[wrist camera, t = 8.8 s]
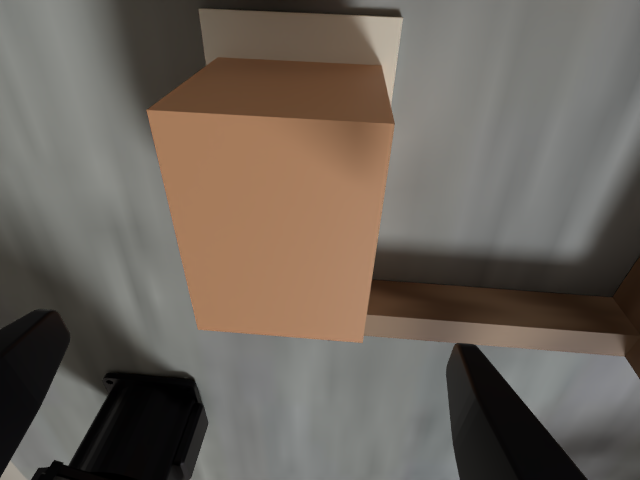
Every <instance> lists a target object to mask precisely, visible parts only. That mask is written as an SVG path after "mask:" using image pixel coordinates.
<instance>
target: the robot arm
mask: <svg viewBox="0 0 640 480" xmlns="http://www.w3.org/2000/svg"><path fill="white" fill-rule="evenodd" d="M69 342H70V333H69V331H68V329H67V327H66V325H65V323H64V321H63V319H62V318H61V316H60V314H59V313H58V312H57V311H55V310H47V309H37V310H34V311H32V312H30V313H29V314H27V315H25V316H23V317H22V318H20V319H18V320H16V321H15V322H13V323H11V324H9V325H8V326H6V327H4V328H2V329H1V330H0V477H1V475H2V474H3V472H4V470H5V468H6V467H7V465H8V463H9V461H10V460H11V458H12V456H13V454H14V453H15V451H16V449H17V447H18V446H19V444H20V442H21V440H22V439H23V437H24V435H25V433H26V432H27V430H28V428H29V426H30V425H31V423H32V421H33V419H34V418H35V416H36V414H37V412H38V410H39V408H40V407H41V405H42V402H43V400H44V398H45V396H46V394H47V392H48V390H49V387H50V385H51V383H52V381H53V378H54V376H55V374H56V372H57V370H58V367H59V365H60V363H61V361H62V358H63V356H64V354H65V352H66V349H67V347H68V345H69ZM446 378H447V389H448V399H449V410H450V421H451V431H452V440H453V447H454V453H455V458H456V463H457V468H458V473H459V477H460V480H588V479H587V478H586V477H585V476H584V474H583V473H582V472H581V471H580V470H579V468H578V467H577V466H576V465H575V464H574V462H573V461H572V460H571V459H570V458H569V456H568V455H567V454H566V453H565V452H564V450H563V449H562V448H561V447H560V445H559V444H558V443H557V442H556V441H555V439H554V438H553V437H552V436H551V435H550V433H549V432H548V431H547V430H546V429H545V427H544V426H543V425H542V424H541V423H540V421H539V420H538V419H537V418H536V417H535V415H534V414H533V413H532V412H531V411H530V409H529V408H528V407H527V406H526V405H525V403H524V402H523V401H522V400H521V399H520V397H519V396H518V395H517V394H516V392H515V391H514V390H513V389H512V388H511V386H510V385H509V384H508V383H507V382H506V380H505V379H504V378H503V377H502V376H501V374H500V373H499V372H498V371H497V370H496V368H495V367H494V366H493V365H492V364H491V362H490V361H489V360H488V359H487V358H486V356H485V355H484V354H483V353H482V352H481V350H480V349H479V348H478V347H477V346H476V345H474V344H467V343H457V344H455V345H454V347H453V350H452V353H451V356H450V358H449V361H448V364H447V368H446ZM102 381H103V383H104V385H105V387H106V389H107V391H108V393H109V394H108V396H107V398H106V400H105V401H104V403H103V405H102V407H101V409H100V410H99V412H98V414H97V416H96V417H95V419H94V421H93V423H92V425H91V426H90V428H89V430H88V432H87V433H86V435H85V437H84V439H83V440H82V442H81V444H80V446H79V448H78V449H77V451H76V453H75V455H74V456H73V458H72V460H71V462H70V464H69V465H68V466H67V465H63V462H60V461H56V460H54V461H53V462H52V464H51V466H50V467H46V468H38V469H37V471H36V473H35V474H34V476H33V477H32V479H31V480H189V479H190V478H191V477H192V473H193V470H194V467H195V464H196V461H197V458H198V455H199V451H200V448H201V445H202V442H203V439H204V436H205V432H206V430H207V427H208V420H207V416H206V412H205V409H204V406H203V404H202V403H201V400H200V396H199V392H198V389H197V385H196V383H195V382H194V381H191V380H186V379H174V378H163V377H151V376H140V375H128V374H117V373H107V374H106V375H105V376H104V378H103V380H102Z"/></svg>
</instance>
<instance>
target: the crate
mask: <svg viewBox="0 0 640 480" xmlns="http://www.w3.org/2000/svg"><path fill="white" fill-rule="evenodd" d="M147 114H148V118H149V123H150V127H151V131H152V136H153V140H154V144H155V148H156V153H157V157H158V161H159V165H160V170H161V174H162V178H163V182H164V187H165V191H166V195H167V199H168V204H169V208H170V212H171V216H172V221H173V225H174V229H175V234H176V238H177V242H178V246H179V251H180V255H181V259H182V263H183V268H184V272H185V276H186V280H187V285H188V289H189V293H190V297H191V302H192V306H193V310H194V315H195V319H196V323H197V327H198V330H210V331H222V332H235V333H247V334H259V335H272V336H284V337H296V338H309V339H321V340H334V341H346V342H358V343H363V336H364V329H365V323H366V316H367V309H368V302H369V295H370V289H371V282H372V275H373V268H374V261H375V255H376V248H377V241H378V234H379V227H380V221H381V214H382V207H383V200H384V193H385V187H386V180H387V173H388V166H389V159H390V153H391V146H392V139H393V132H394V125H395V123H394V119H393V114H392V110H391V105H390V100H389V96H388V91H387V87H386V82H385V78H384V73H383V69H382V65H364V64H344V63H324V62H304V61H283V60H263V59H243V58H223V57H217V58H216V59H215V60H213V61H212V62H210V63H209V64H208V65H206V66H205V67H204V68H202V69H201V70H200V71H198V72H197V73H196V74H194V75H193V76H192V77H190V78H189V79H188V80H186V81H185V82H184V83H182V84H181V85H180V86H178V87H177V88H175V89H174V90H173V91H171V92H170V93H169V94H167V95H166V96H165V97H163V98H162V99H161V100H159V101H158V102H157V103H155V104H154V105H153V106H151V107H150V108H149V109H147Z"/></svg>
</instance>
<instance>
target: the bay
mask: <svg viewBox="0 0 640 480" xmlns="http://www.w3.org/2000/svg"><path fill="white" fill-rule="evenodd" d="M199 17H200V24H201V32H202V39H203V47H204V54H205V61H206V65H208V64H209V63H210V62H212V61H213V60H215V59H216V58H217V57H223V58H243V59H263V60H283V61H304V62H324V63H344V64H364V65H382V69H383V73H384V78H385V82H386V87H387V91H388V96H389V100H390V105H391V102H392V94H393V87H394V80H395V72H396V65H397V58H398V51H399V43H400V36H401V29H402V21H403V17H389V16H367V15H344V14H321V13H299V12H276V11H253V10H231V9H208V8H199ZM364 336H375V337H388V338H400V339H413V340H425V341H438V342H450V343H467V344H475V345H488V346H500V347H513V348H525V349H537V350H550V351H562V352H575V353H587V354H600V355H612V356H625V357H626V359H627V360H628V362H629V363H630V365H631V366H632V368H633V369H634V371H635V373H636V374H637V376H638V377H639V379H640V257H639V258H638V260H637V261H636V263H635V264H634V266H633V267H632V269H631V270H630V272H629V273H628V275H627V276H626V278H625V279H624V281H623V282H622V284H621V285H620V287H619V288H618V290H617V291H616V293H615V294H614V296H613V297H601V296H588V295H574V294H561V293H547V292H533V291H520V290H506V289H493V288H479V287H466V286H452V285H439V284H425V283H411V282H398V281H384V280H372V282H371V289H370V295H369V302H368V309H367V316H366V323H365V329H364Z"/></svg>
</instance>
